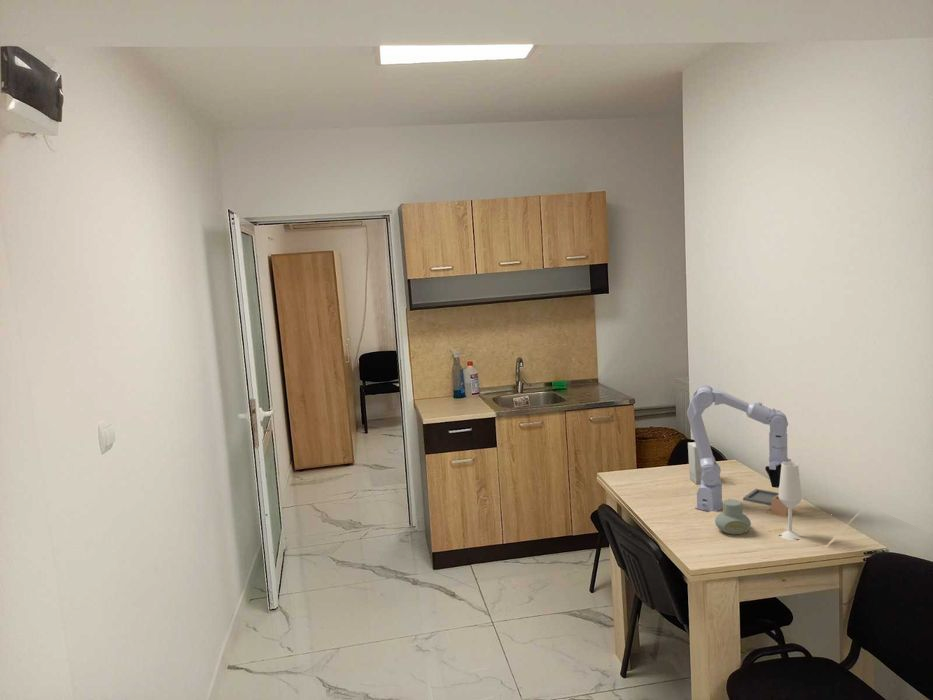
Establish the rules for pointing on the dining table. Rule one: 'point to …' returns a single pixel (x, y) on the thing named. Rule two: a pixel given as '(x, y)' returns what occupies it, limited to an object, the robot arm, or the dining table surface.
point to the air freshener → (732, 518)
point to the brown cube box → (778, 506)
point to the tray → (760, 496)
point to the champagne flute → (790, 494)
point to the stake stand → (780, 514)
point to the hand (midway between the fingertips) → (778, 484)
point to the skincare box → (694, 463)
